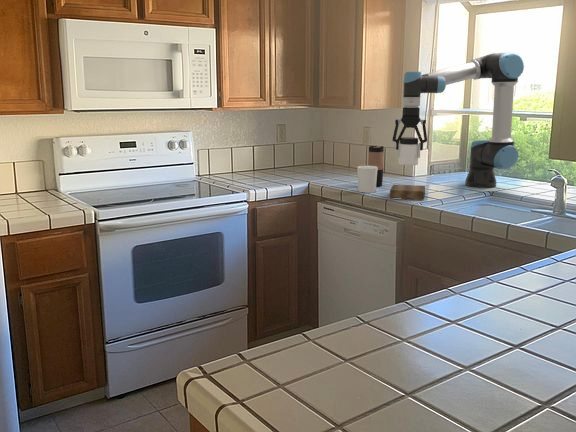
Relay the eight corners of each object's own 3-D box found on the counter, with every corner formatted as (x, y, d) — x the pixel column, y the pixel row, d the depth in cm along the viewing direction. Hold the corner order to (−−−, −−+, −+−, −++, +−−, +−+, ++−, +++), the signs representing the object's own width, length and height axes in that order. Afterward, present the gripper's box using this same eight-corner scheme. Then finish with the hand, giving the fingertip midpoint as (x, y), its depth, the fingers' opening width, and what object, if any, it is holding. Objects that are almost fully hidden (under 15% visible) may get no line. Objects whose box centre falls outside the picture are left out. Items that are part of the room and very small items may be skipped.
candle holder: (375, 189, 293) (375, 165, 290) (378, 193, 283) (379, 168, 281) (355, 189, 293) (355, 165, 290) (358, 193, 283) (358, 168, 280)
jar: (409, 166, 266) (411, 139, 263) (394, 164, 272) (395, 138, 269) (421, 164, 272) (422, 138, 269) (406, 162, 278) (407, 136, 275)
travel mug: (371, 187, 299) (372, 147, 294) (365, 184, 306) (366, 146, 302) (385, 186, 301) (386, 147, 296) (379, 184, 308) (380, 145, 304)
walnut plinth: (424, 194, 281) (425, 185, 280) (423, 200, 266) (423, 191, 266) (392, 192, 284) (393, 184, 283) (389, 198, 270) (390, 190, 269)
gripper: (386, 106, 265) (385, 157, 270) (435, 107, 260) (432, 159, 265) (388, 106, 272) (386, 155, 277) (435, 106, 267) (432, 157, 272)
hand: (409, 157), depth 271 cm, fingers closed on jar, 8 cm apart
